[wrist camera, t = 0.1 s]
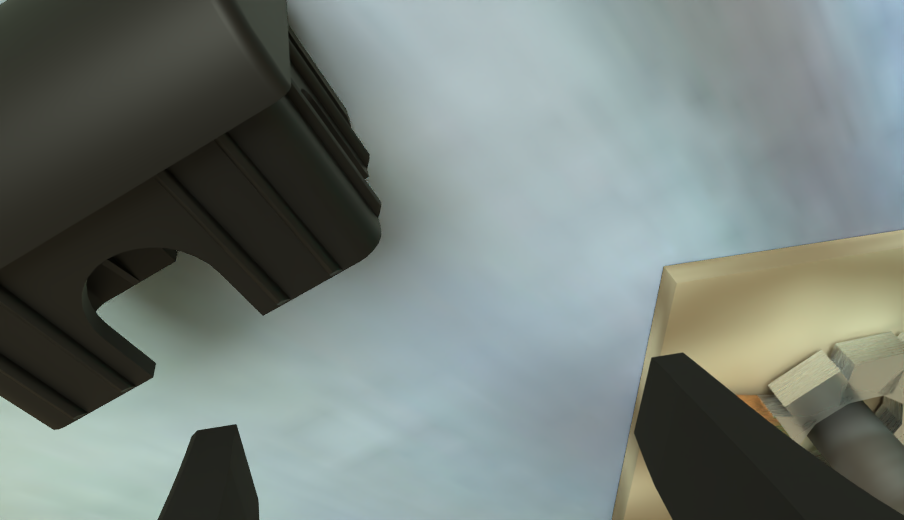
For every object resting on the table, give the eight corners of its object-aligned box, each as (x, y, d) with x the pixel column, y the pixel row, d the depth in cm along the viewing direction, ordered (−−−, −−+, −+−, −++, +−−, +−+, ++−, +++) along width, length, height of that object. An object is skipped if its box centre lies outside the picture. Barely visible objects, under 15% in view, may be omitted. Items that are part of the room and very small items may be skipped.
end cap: (201, -143, 15) (160, -86, 9) (371, 114, 19) (409, 254, 14) (-150, 91, 16) (-358, 259, 11) (84, 284, 20) (17, 471, 15)
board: (910, 476, 38) (1000, 578, 34) (607, 542, 35) (658, 662, 31) (1080, 202, 27) (1248, 295, 23) (663, 266, 25) (756, 387, 20)
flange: (981, 336, 29) (1059, 400, 26) (854, 483, 35) (907, 550, 32) (709, 321, 25) (767, 396, 22) (612, 491, 30) (648, 569, 27)
